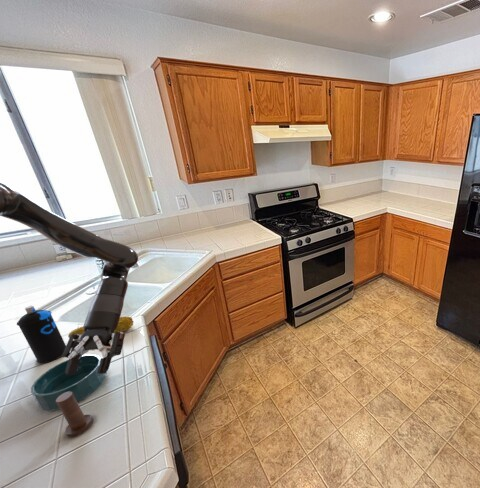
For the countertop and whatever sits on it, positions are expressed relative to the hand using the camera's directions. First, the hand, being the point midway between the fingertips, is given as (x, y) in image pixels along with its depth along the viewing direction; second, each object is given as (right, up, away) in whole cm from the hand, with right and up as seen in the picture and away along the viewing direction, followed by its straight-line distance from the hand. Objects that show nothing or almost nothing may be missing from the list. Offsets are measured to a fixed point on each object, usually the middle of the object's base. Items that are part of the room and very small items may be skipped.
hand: (85, 374), depth 69 cm
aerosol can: (-34, -5, +24) cm, 42 cm away
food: (-24, -1, +34) cm, 41 cm away
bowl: (-12, -9, +10) cm, 18 cm away
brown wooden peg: (+1, -12, -2) cm, 13 cm away
